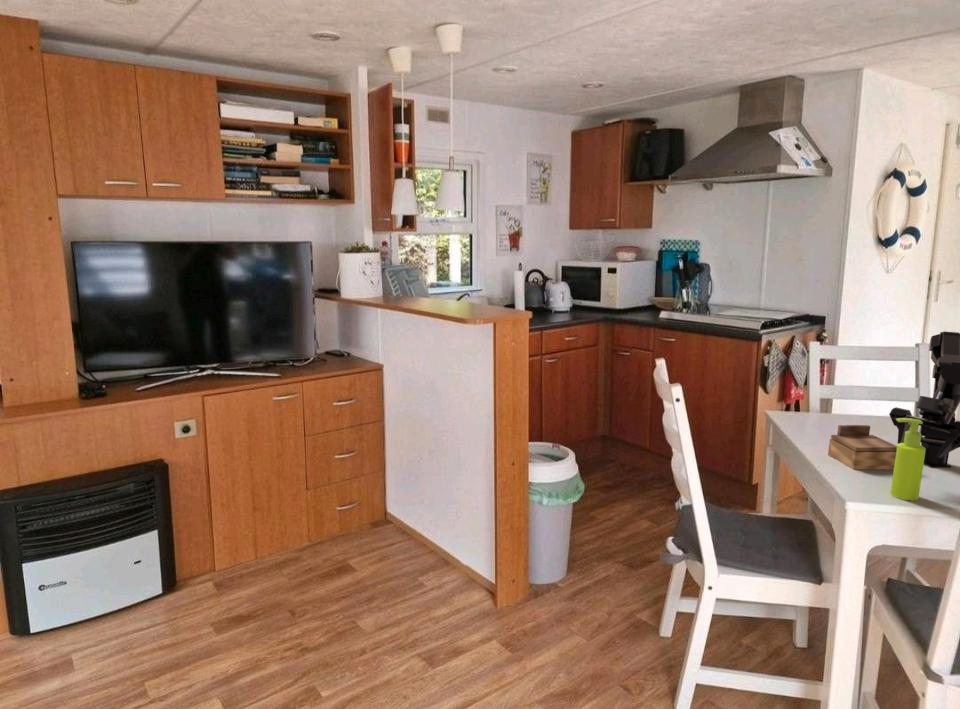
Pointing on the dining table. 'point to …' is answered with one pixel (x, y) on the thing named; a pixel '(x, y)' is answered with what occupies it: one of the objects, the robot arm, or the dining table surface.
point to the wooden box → (861, 457)
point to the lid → (861, 439)
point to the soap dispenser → (908, 463)
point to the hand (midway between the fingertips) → (918, 451)
